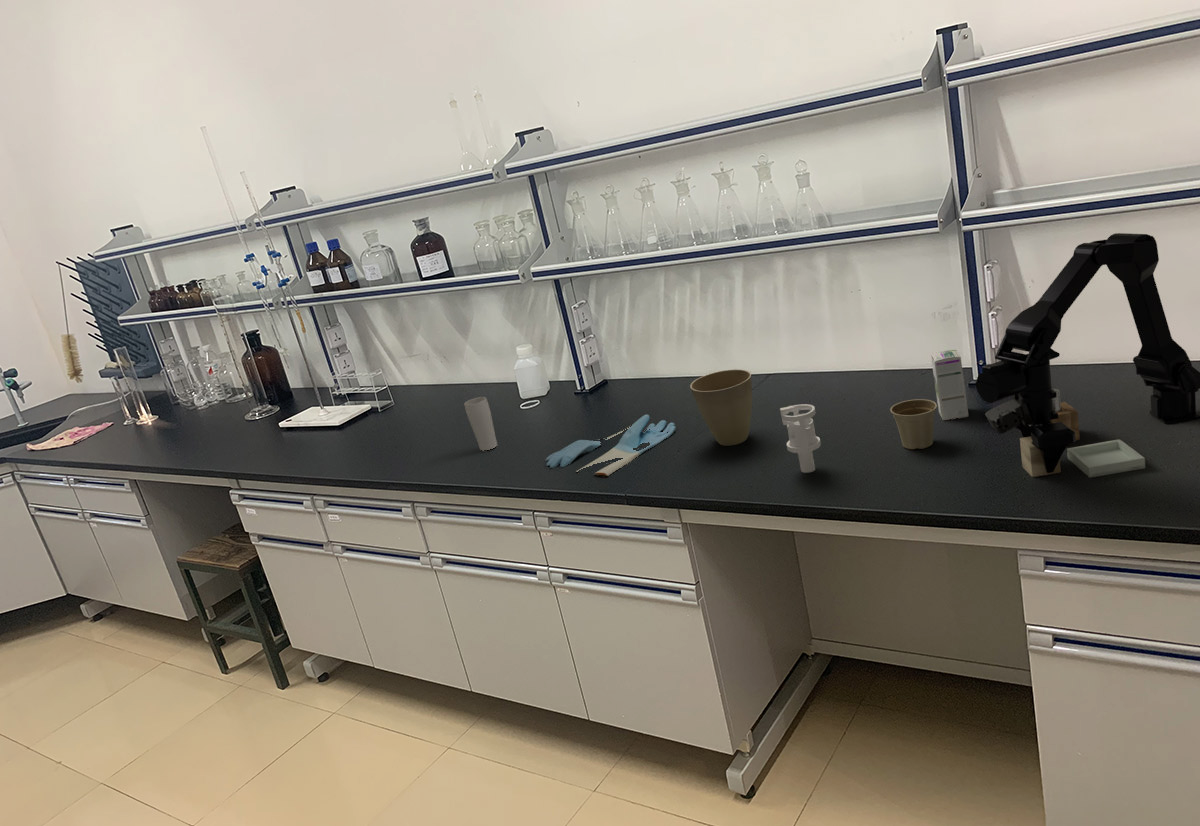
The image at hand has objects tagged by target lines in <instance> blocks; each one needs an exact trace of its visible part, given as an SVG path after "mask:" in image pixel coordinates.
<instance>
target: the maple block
mask: <svg viewBox="0 0 1200 826" xmlns="http://www.w3.org/2000/svg"><path fill="white" fill-rule="evenodd" d="M1031 442H1033V441H1032V438H1031V436H1030V437H1024V438H1022V437H1020V438H1019V445H1020V455H1021V467H1022V468H1023V469H1024V470H1025V472H1027V473H1028V474H1029V475H1030V476H1031V477H1032V478H1034V477H1035V478H1036V477H1041V476H1047V475H1052V474H1058V473H1059V474H1060V473H1061V472H1062V471H1061V460H1059V462H1058V464H1057V466H1056V468H1055V470H1054V472H1052V473H1047V472H1046V469H1045V466H1044V462H1043V459H1042V455H1041V451H1040V449H1038V448H1036V447H1035V446H1034V445H1033V444H1032V443H1031Z"/></svg>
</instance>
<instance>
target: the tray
mask: <svg viewBox="0 0 1200 826" xmlns="http://www.w3.org/2000/svg"><path fill="white" fill-rule="evenodd" d="M1066 453H1067V454H1066V455H1067V456H1066V457H1067V459H1068V460H1069V461H1070V462H1071V463H1073V464H1074V465H1075V467H1077V468H1078V469H1079V470H1080V471H1082V473H1083V474H1085V475H1086V476H1087V477H1088V478H1096V477H1101V476H1102V477H1103V476H1107V475H1113V474H1119V473H1124V472H1125V473H1126V472H1130V471H1131V472H1132V471H1136V470H1142V469H1146V459H1145V458H1146V457H1144V456H1143V455H1141V454H1140V453H1139V452H1138V451H1136V450H1135V449H1133V448H1132V447H1131V446H1130V445H1128V444H1127V443H1125V442H1124V441H1122V439H1114V440H1107V441H1102V442H1096V443H1091V444H1085V445H1080V446H1073V447H1069V448H1067V447H1066Z"/></svg>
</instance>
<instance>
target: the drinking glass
mask: <svg viewBox="0 0 1200 826" xmlns="http://www.w3.org/2000/svg"><path fill="white" fill-rule="evenodd" d="M463 406H464V408H465V409H464V410H465V412H466V415H467V419H468V422H469V424H470V426H471V429H472V431H473V434H474V436H475V440H476V441H477V444H478V447H479V448H478V449H479V450H480V451H481V450H482V451H481V452H485V451H484V450H490V449H493V448H495V447H496V446H497V447H498V441H497V438H496V433H495V432H496V431H495V427H494V426H495V425H494V421H493V417H492V411H491V409H490V404H489V402H488V398H487V397H486V396H478V397H474V398H471V399H468V400H467V401H465V402H464V404H463ZM497 447H496V448H497ZM496 448H495V449H496ZM493 450H494V449H493ZM490 451H491V450H490Z"/></svg>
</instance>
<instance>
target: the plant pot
mask: <svg viewBox="0 0 1200 826" xmlns="http://www.w3.org/2000/svg"><path fill="white" fill-rule="evenodd" d="M752 382H753V381H752V373H751V371H749V370H746V369H736V368H735V369H723V370H719V371H714V372H711V373H708V374H705V375H702V376H701V377H698V378H696V379H695V380H693V381H692V382H691V383H690V385H689V387H690V390H691V393H692V396H693V398H694V401H695V403H696V405H697V408H698V410H699V412H700V414H701V417H702V418H703V421H704V422H705V424H706V426H707V427H708V429H709V430H710V432H711V434H712V435H713V437H714V439H715V440H716V442H717V443H718V444H719V445H720V446H724V447H726V446H730V447H731V446H736V445H739V444H741V443H743V442H745V441H746V440H747V439H748V437H749V433H750V426H751V419H752V418H751V417H752V409H753V408H752V404H753V402H752V401H753V387H752V385H753V384H752Z"/></svg>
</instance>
